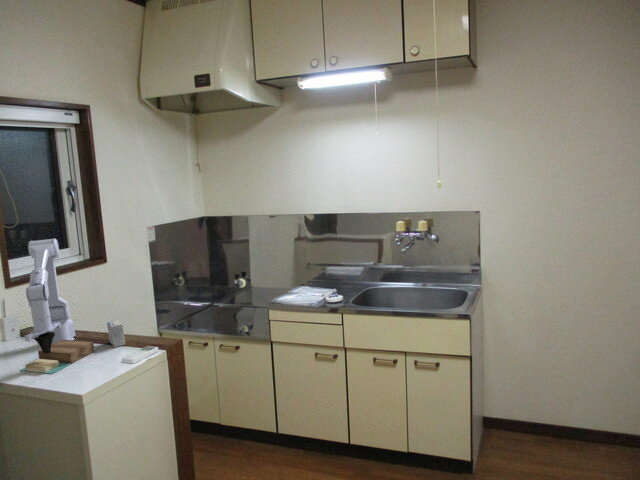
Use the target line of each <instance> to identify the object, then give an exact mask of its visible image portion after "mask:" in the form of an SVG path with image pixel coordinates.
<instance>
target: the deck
mask: <svg viewBox="0 0 640 480" xmlns="http://www.w3.org/2000/svg"><path fill="white" fill-rule="evenodd" d="M37 353H38V359H45V360H57V361H58V362H60V363H71V364H70V365H72V364H74V363H76V362H78V361H79V360H81V359H83V358H85V357H87V356H89V355H92V354H93V353H95V345H94V341H91V340H90V341H87V340H76V339H74V340H60V341H58V342H56V343H54V344H52V345H51V352H50V353H48V354H45V353H43V351H42V349H41V348H40V350H38V351H37Z"/></svg>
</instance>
